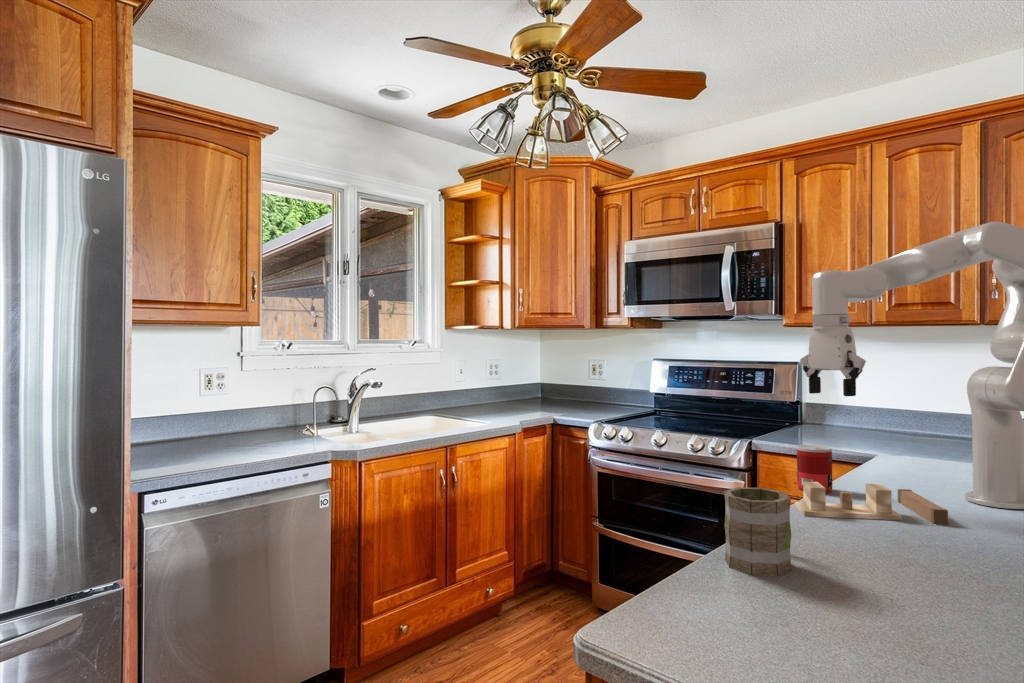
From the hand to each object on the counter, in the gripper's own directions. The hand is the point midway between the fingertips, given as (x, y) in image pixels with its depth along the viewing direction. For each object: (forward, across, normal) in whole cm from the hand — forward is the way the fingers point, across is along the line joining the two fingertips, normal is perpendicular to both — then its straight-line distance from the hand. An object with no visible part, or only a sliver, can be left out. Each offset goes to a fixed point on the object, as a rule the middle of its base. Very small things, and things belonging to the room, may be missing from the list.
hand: (831, 394), depth 144 cm
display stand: (+25, -9, +6) cm, 27 cm away
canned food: (+26, +10, -4) cm, 28 cm away
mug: (+25, -24, +45) cm, 57 cm away
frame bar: (+25, -15, -9) cm, 31 cm away
